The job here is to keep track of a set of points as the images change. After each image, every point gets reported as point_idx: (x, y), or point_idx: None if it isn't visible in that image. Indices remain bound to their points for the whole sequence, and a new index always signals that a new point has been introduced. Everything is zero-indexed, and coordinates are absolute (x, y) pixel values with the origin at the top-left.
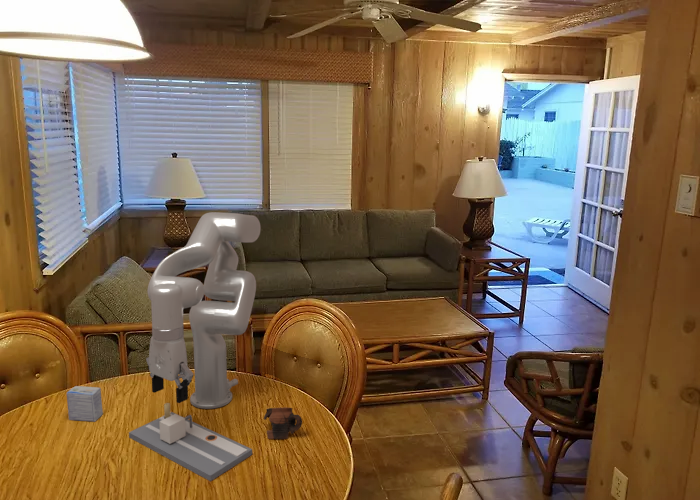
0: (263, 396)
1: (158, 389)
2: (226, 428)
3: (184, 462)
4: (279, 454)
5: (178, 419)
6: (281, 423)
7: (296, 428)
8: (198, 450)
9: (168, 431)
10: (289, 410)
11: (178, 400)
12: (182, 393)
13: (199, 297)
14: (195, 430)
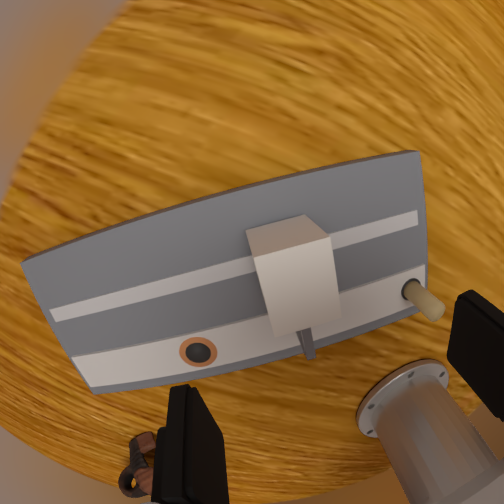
0: (323, 469)
1: (458, 333)
2: (254, 394)
3: (112, 228)
4: (79, 414)
5: (286, 313)
6: (134, 472)
7: (121, 473)
8: (149, 293)
9: (257, 245)
10: None
11: (170, 404)
12: (155, 469)
13: None
14: None
